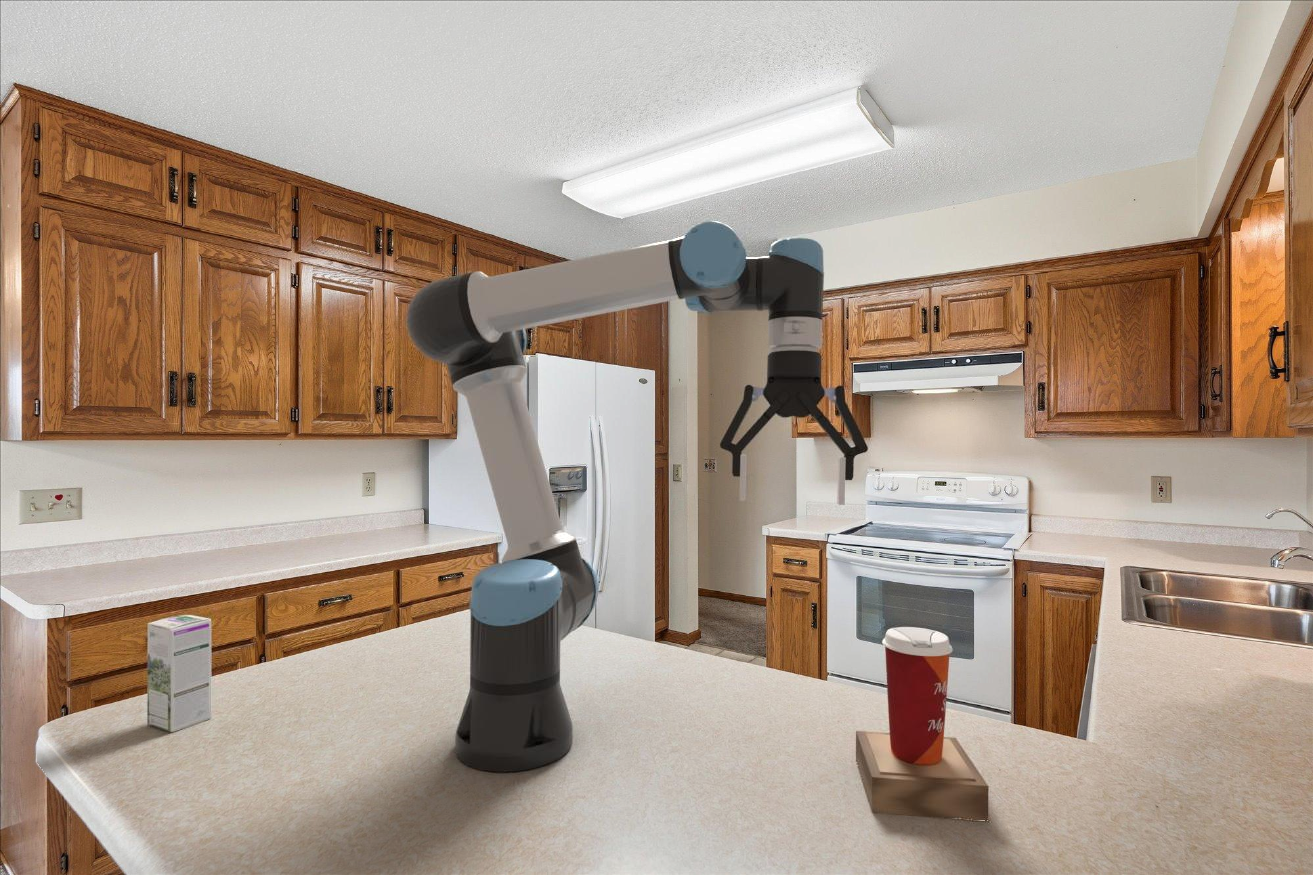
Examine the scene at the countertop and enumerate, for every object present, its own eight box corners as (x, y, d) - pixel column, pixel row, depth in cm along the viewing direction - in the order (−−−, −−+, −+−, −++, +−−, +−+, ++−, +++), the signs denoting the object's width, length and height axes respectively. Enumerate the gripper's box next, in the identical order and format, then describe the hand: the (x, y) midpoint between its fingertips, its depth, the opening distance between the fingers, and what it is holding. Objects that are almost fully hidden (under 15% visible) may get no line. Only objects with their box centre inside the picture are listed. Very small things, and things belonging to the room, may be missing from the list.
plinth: (871, 811, 74) (872, 775, 74) (855, 760, 86) (856, 729, 86) (988, 821, 72) (988, 784, 72) (955, 768, 84) (955, 736, 84)
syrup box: (213, 718, 97) (214, 616, 97) (168, 734, 91) (170, 626, 92) (188, 711, 99) (190, 612, 99) (144, 726, 94) (145, 621, 94)
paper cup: (959, 773, 74) (959, 646, 75) (885, 766, 76) (886, 641, 76) (943, 742, 82) (944, 627, 82) (877, 736, 84) (878, 623, 84)
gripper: (703, 348, 94) (700, 500, 94) (891, 348, 90) (887, 508, 90) (709, 355, 101) (705, 496, 101) (882, 355, 97) (879, 503, 97)
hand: (791, 502), depth 95 cm, fingers open, 13 cm apart
